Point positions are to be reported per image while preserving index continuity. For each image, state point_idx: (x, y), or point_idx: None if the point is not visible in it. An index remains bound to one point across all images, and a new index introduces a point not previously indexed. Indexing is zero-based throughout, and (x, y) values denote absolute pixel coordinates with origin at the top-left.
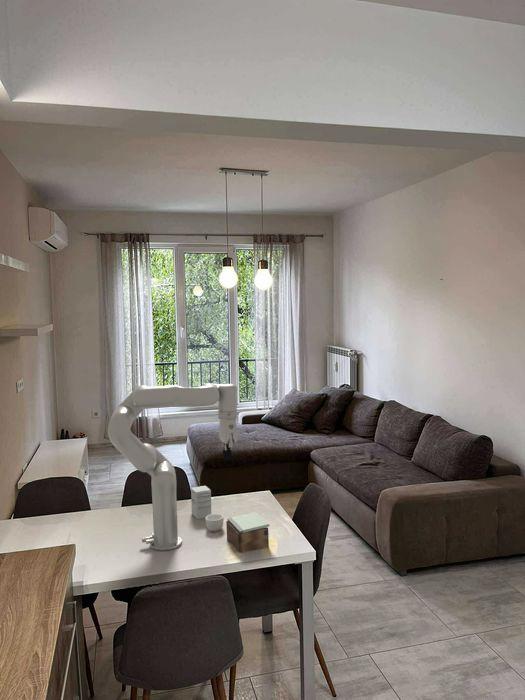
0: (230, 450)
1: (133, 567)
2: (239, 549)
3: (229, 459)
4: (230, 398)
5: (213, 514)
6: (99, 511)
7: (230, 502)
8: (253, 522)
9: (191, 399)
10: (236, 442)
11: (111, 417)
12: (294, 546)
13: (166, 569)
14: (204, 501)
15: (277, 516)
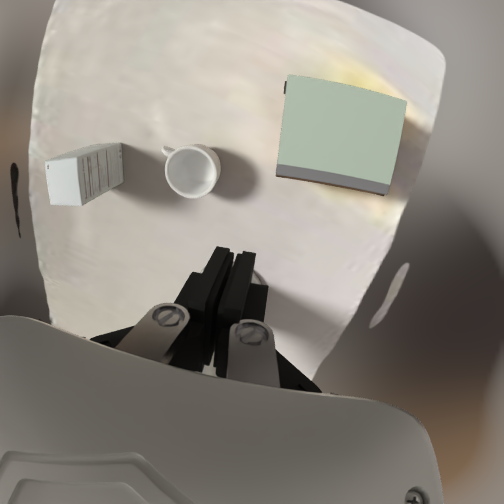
0: (241, 317)
1: (292, 356)
2: None
3: (253, 268)
4: None
5: (168, 166)
6: (55, 311)
7: (67, 75)
8: (365, 128)
9: None
10: (420, 423)
11: None
12: (413, 57)
13: (335, 324)
14: (98, 171)
15: None
